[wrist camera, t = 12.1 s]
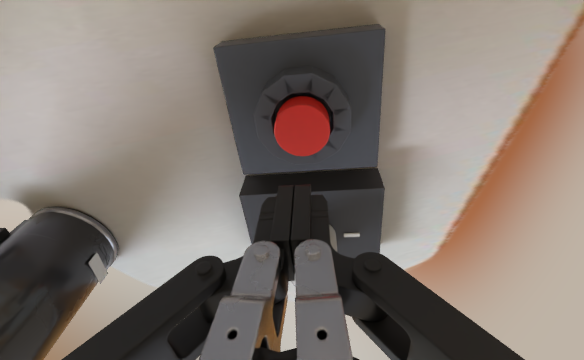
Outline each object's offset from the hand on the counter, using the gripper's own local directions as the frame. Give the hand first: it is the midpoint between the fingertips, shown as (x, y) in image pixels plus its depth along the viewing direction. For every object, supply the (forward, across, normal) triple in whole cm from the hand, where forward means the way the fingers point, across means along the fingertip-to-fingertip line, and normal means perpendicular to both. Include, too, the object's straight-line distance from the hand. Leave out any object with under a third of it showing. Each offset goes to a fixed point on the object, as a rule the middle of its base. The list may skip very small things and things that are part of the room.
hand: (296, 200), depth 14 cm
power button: (+8, 0, -1) cm, 8 cm away
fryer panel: (+12, 0, +11) cm, 16 cm away
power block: (+12, 0, -1) cm, 12 cm away
